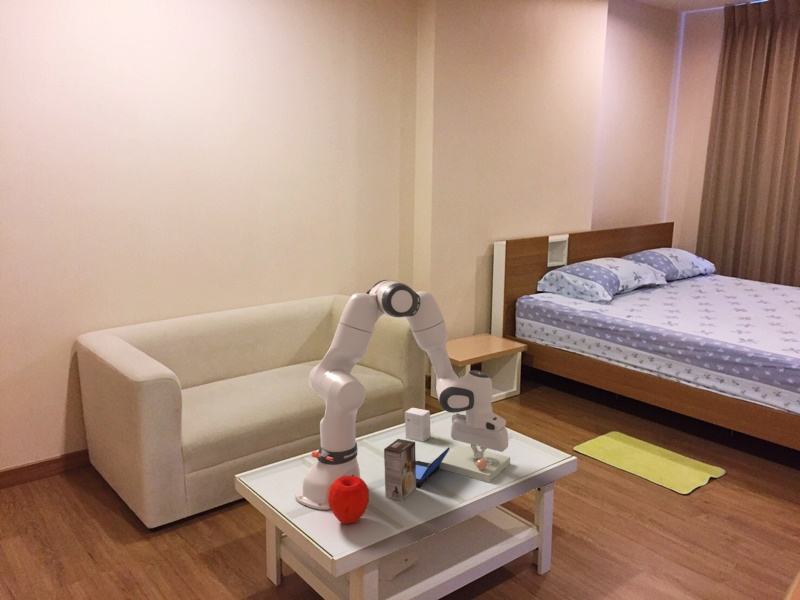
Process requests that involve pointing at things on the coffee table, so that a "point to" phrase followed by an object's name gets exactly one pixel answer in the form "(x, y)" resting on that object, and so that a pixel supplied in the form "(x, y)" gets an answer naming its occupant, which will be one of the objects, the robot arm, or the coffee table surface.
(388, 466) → the coffee box
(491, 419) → the robot arm
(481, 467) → the terracotta ball
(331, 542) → the coffee table surface
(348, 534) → the coffee table surface
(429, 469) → the handheld game console
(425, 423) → the small box
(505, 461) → the beige flat block
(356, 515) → the apple
